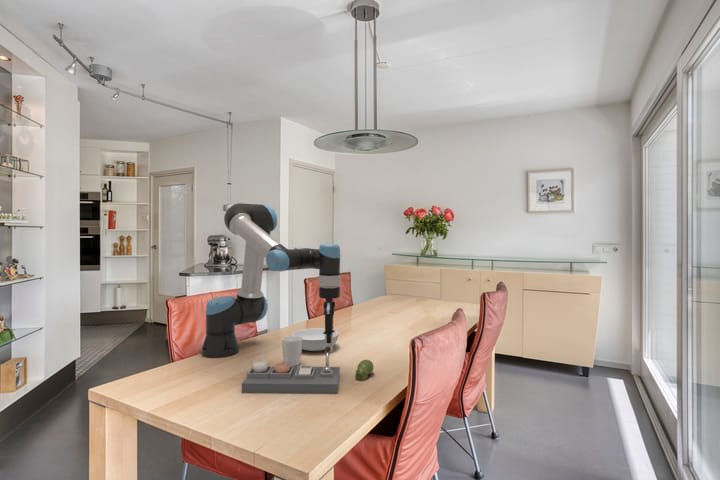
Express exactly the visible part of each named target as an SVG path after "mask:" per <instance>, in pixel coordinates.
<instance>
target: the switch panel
mask: <svg viewBox="0 0 720 480" xmlns="http://www.w3.org/2000/svg"><path fill="white" fill-rule="evenodd" d="M324 367H325V366H312V370H311V375H298V373H299V370H300V366H290V367H289V373H275V365H272V366H270V365H268V371H266V372H263V373H255V372H253V365H252V366H251V368H250V369H249V370H248V371H247V373H246V378H245V379H244V380H243V381H242V383H241V393H243V394H247V393H248V394H251V393H252V394H255V393H258V394H261V393H262V394H338V392H339V391H338V389H339V382H340V374H341V373H340V369H341V367H340V366H330V367H331V372H323V368H324Z"/></svg>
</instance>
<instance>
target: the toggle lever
mask: <svg viewBox="0 0 720 480" xmlns="http://www.w3.org/2000/svg"><path fill="white" fill-rule="evenodd" d="M330 350H331V348H330V347H329V346H327V347H326V348H325V350H324V352H325V351H326V352H325V366H323V367H324V368H323V372H331V367H332V366H330V353H331V352H330Z"/></svg>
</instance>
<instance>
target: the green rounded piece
mask: <svg viewBox="0 0 720 480" xmlns="http://www.w3.org/2000/svg"><path fill="white" fill-rule="evenodd" d="M374 368H375V366H374V363H373V362H372V361H371V360H370V359H363V360H361V361H360V362H359V363H358V365H357V368H356V370H355V374H354V375H355V380H359V381H366V380H368V375H371V374H372V373H373V371H374Z"/></svg>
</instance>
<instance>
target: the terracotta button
mask: <svg viewBox="0 0 720 480" xmlns="http://www.w3.org/2000/svg"><path fill="white" fill-rule="evenodd" d="M274 366H275V373H289V367H290V366H289V364H284V363H277V364H276V365H274Z"/></svg>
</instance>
